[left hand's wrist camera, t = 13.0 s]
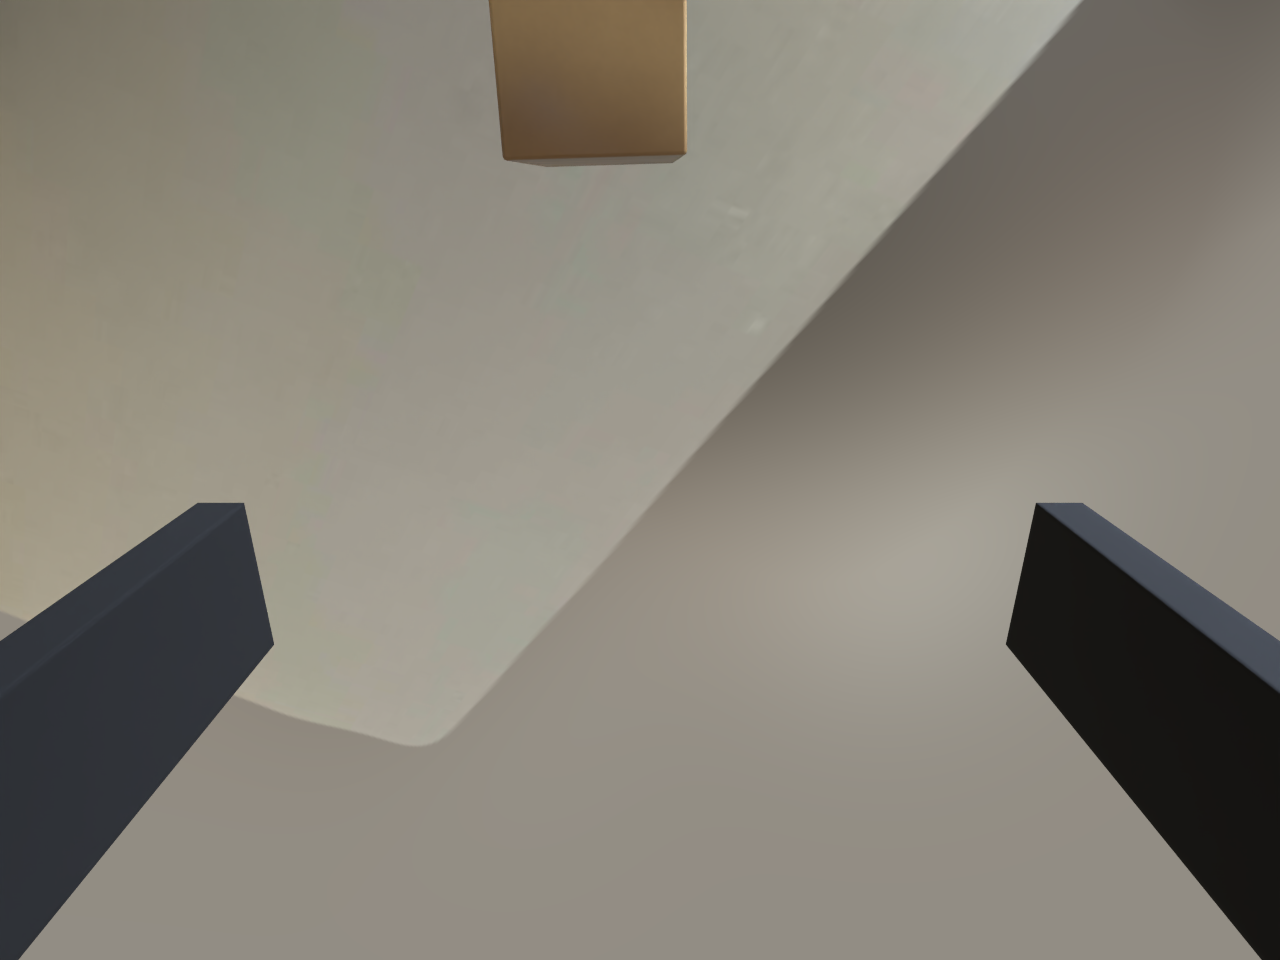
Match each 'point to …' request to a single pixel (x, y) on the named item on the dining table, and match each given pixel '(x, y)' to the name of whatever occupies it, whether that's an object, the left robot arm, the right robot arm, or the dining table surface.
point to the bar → (591, 80)
